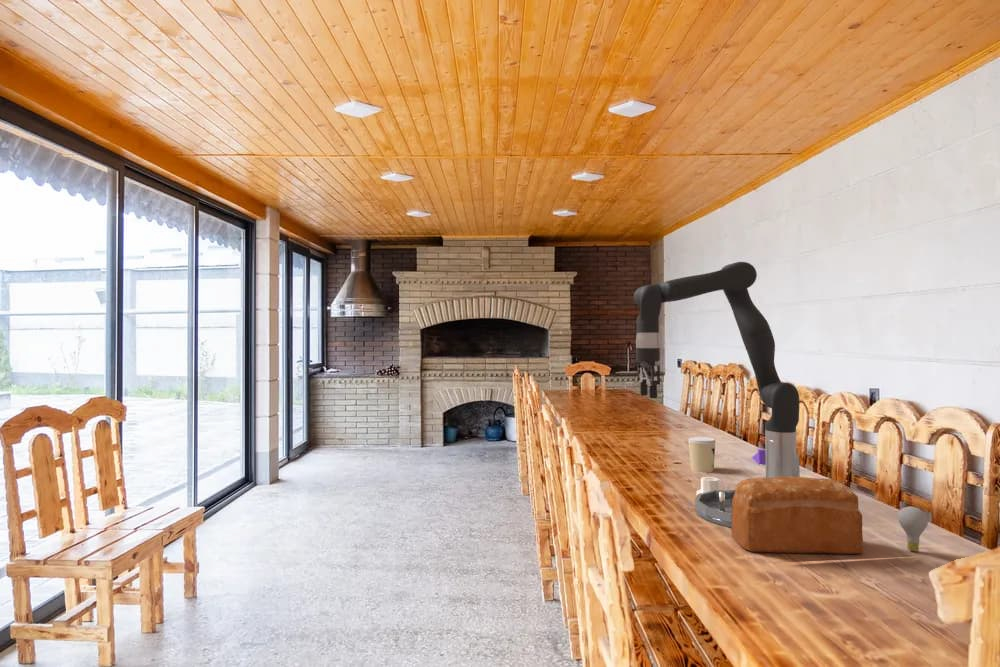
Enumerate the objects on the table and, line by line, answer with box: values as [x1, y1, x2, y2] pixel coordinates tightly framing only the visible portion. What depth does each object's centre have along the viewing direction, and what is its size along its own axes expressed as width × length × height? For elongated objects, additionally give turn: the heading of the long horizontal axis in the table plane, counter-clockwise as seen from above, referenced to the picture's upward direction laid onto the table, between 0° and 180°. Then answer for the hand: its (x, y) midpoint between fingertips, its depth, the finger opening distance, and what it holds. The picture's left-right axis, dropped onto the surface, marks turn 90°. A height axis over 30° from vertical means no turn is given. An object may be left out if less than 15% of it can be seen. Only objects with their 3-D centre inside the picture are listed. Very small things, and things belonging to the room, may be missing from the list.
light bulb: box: [897, 506, 929, 553], centre depth 129 cm, size 5×5×10 cm
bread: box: [730, 476, 864, 555], centre depth 134 cm, size 14×26×16 cm, turn 86°
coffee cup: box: [687, 436, 717, 474], centre depth 208 cm, size 9×9×12 cm
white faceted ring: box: [696, 476, 720, 496], centre depth 175 cm, size 7×7×6 cm
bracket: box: [751, 448, 766, 466], centre depth 219 cm, size 12×7×7 cm, turn 169°
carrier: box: [694, 489, 735, 529], centre depth 156 cm, size 27×27×7 cm
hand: (648, 396), depth 185 cm, fingers open, 8 cm apart
